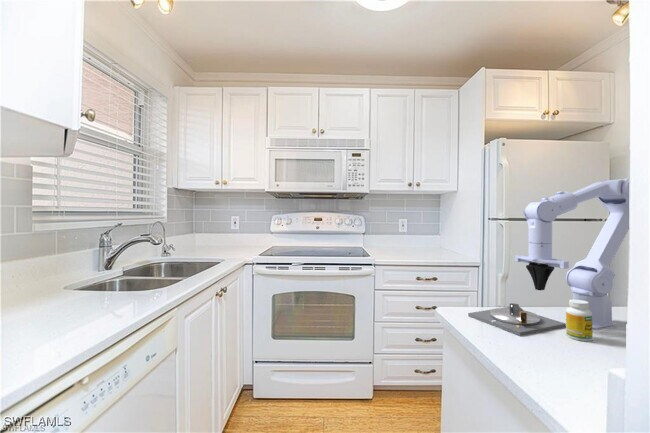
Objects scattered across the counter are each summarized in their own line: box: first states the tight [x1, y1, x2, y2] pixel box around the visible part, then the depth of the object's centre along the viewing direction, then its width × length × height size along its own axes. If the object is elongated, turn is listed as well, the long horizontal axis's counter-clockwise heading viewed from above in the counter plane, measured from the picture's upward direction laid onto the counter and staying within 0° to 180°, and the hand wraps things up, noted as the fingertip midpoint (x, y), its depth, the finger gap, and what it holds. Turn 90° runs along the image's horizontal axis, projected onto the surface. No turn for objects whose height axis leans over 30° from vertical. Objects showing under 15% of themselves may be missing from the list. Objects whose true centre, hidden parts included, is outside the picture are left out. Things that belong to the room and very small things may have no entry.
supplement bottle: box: [565, 298, 594, 342], centre depth 83 cm, size 5×5×10 cm
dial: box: [490, 303, 540, 325], centre depth 95 cm, size 14×13×4 cm
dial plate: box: [467, 306, 566, 337], centre depth 96 cm, size 18×18×1 cm
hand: (539, 289), depth 92 cm, fingers closed
